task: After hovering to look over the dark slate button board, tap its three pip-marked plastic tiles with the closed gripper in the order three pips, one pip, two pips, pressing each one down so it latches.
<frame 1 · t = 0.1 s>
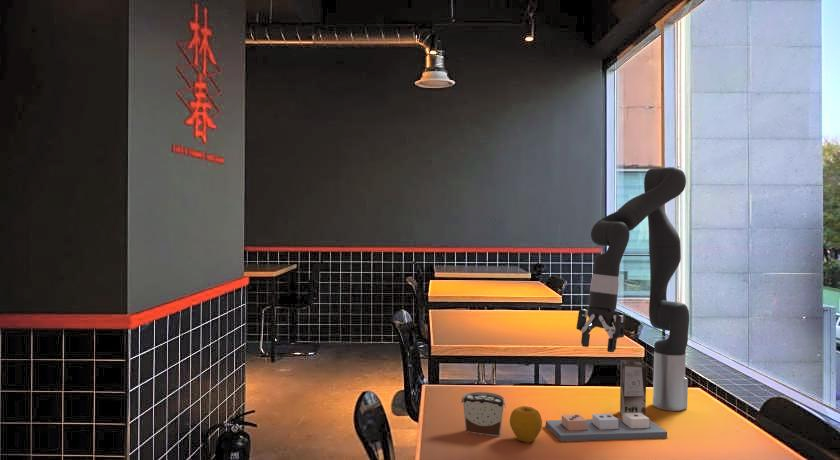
hand: (597, 349, 174), 22 cm above the table, tool pointing down, fingers open, 8 cm apart
food container: (485, 431, 172), on the table
button board: (604, 431, 172), on the table
apple: (525, 440, 165), on the table
tile three: (574, 422, 171), point 3 cm above the table, slide at 0.0 cm
tile two: (605, 421, 172), point 3 cm above the table, slide at 0.0 cm
tile one: (635, 420, 173), point 3 cm above the table, slide at 0.0 cm
coffee box: (632, 417, 186), on the table
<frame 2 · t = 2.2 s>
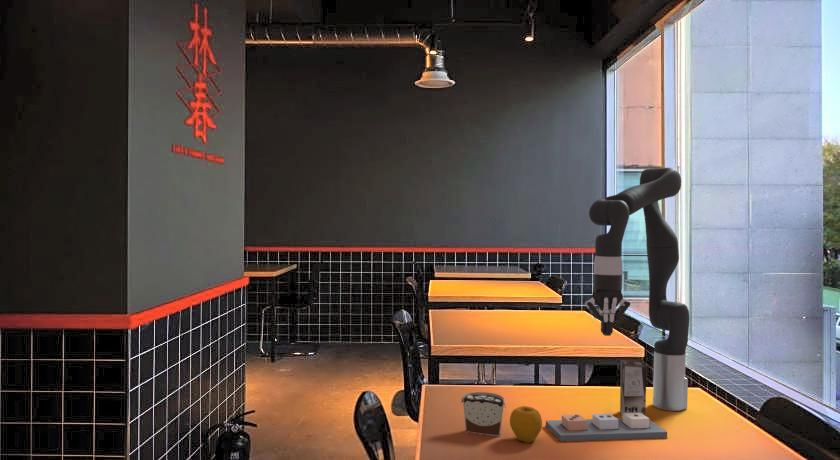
hand: (606, 335, 171), 27 cm above the table, tool pointing down, fingers closed
nothing on the table moved.
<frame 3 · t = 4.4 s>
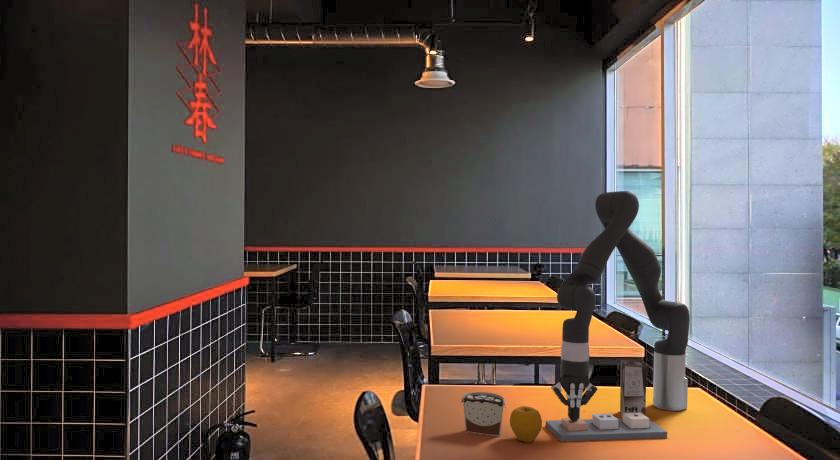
hand: (573, 419, 171), 4 cm above the table, tool pointing down, fingers closed
tile three: (573, 424, 171), point 2 cm above the table, slide at -0.8 cm, touching gripper
everything else where it was.
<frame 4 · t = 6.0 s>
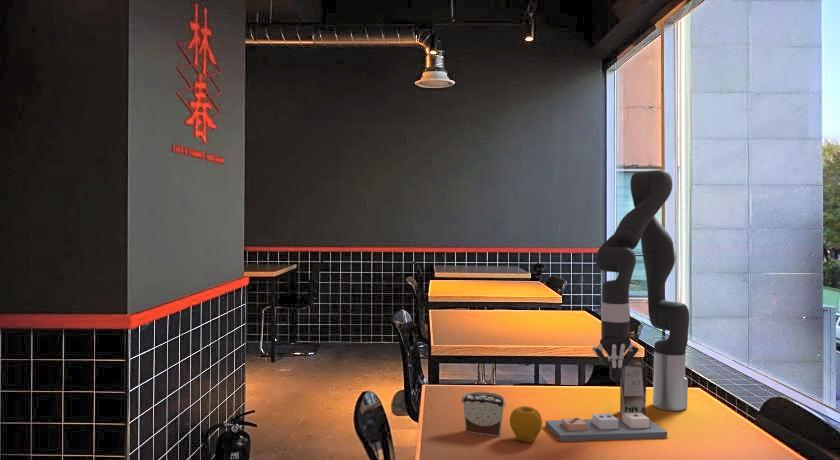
hand: (615, 380, 173), 14 cm above the table, tool pointing down, fingers closed
tile three: (573, 425, 171), point 2 cm above the table, slide at -0.9 cm
everything else where it was.
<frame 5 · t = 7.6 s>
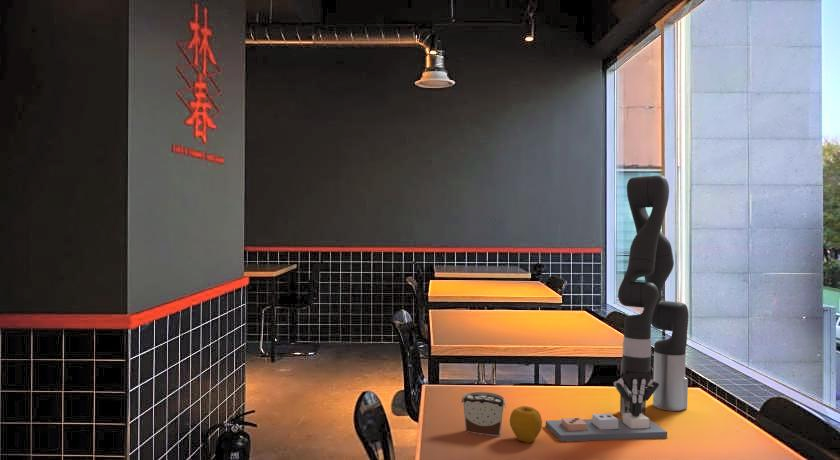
hand: (635, 415, 173), 4 cm above the table, tool pointing down, fingers closed
tile one: (635, 420, 173), point 3 cm above the table, slide at -0.1 cm, touching gripper
everything else where it was.
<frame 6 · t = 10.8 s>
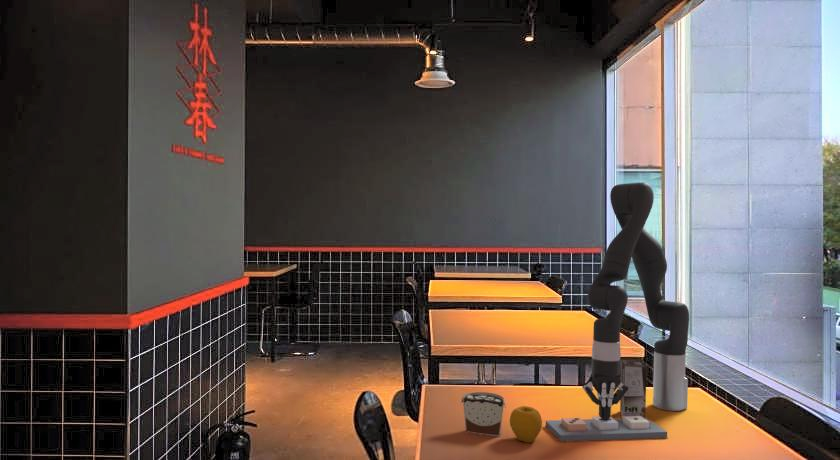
hand: (604, 419, 172), 4 cm above the table, tool pointing down, fingers closed
tile two: (605, 424, 172), point 2 cm above the table, slide at -0.8 cm, touching gripper
tile one: (635, 423, 173), point 2 cm above the table, slide at -0.9 cm
everything else where it was.
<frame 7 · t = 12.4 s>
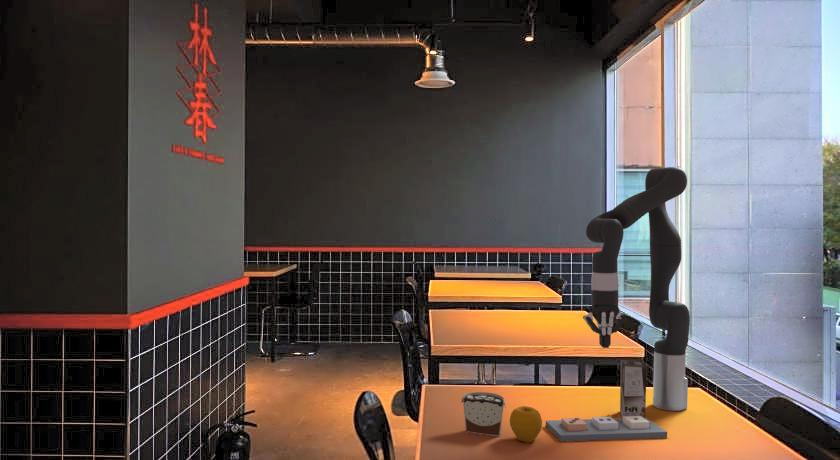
hand: (604, 347, 180), 22 cm above the table, tool pointing down, fingers closed
tile two: (605, 424, 172), point 2 cm above the table, slide at -0.9 cm
everything else where it was.
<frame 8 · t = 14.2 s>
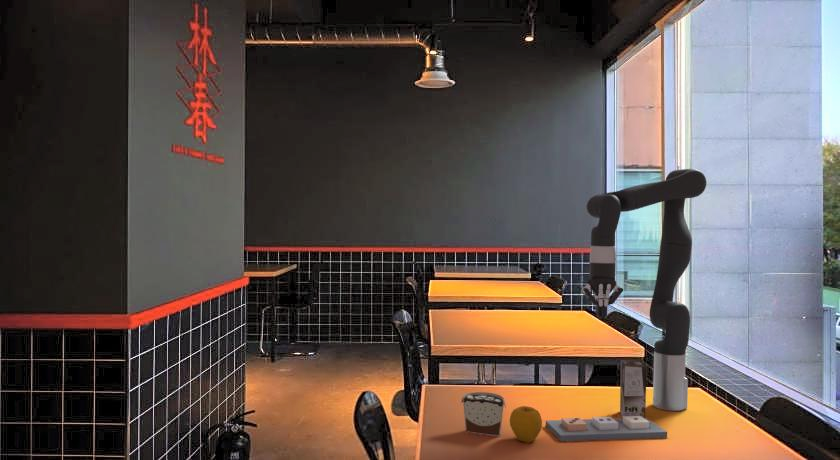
hand: (601, 318, 187), 29 cm above the table, tool pointing down, fingers closed
nothing on the table moved.
at the end: tile three slide at -0.9 cm; tile one slide at -0.9 cm; tile two slide at -0.9 cm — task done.
